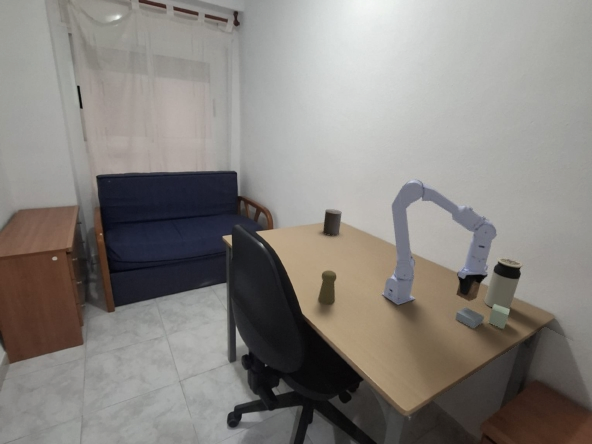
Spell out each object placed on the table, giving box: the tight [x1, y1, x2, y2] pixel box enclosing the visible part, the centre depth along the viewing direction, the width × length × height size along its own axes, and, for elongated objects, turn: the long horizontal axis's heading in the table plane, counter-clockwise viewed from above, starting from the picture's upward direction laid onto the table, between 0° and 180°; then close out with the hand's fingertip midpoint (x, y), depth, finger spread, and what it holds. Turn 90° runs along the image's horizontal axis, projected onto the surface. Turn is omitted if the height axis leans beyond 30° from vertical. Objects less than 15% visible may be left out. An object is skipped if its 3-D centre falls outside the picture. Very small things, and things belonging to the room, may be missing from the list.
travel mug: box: [483, 257, 524, 309], centre depth 107 cm, size 8×8×18 cm
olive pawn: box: [317, 269, 337, 305], centre depth 104 cm, size 6×6×11 cm
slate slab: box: [455, 306, 485, 329], centre depth 99 cm, size 6×6×3 cm
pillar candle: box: [322, 208, 343, 236], centre depth 175 cm, size 10×10×15 cm
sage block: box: [487, 304, 511, 330], centre depth 98 cm, size 4×4×6 cm
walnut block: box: [456, 282, 481, 302], centre depth 100 cm, size 4×4×6 cm
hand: (467, 292), depth 101 cm, fingers closed on walnut block, 4 cm apart
